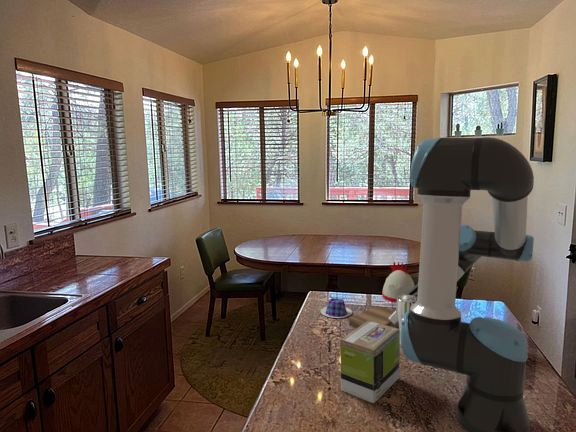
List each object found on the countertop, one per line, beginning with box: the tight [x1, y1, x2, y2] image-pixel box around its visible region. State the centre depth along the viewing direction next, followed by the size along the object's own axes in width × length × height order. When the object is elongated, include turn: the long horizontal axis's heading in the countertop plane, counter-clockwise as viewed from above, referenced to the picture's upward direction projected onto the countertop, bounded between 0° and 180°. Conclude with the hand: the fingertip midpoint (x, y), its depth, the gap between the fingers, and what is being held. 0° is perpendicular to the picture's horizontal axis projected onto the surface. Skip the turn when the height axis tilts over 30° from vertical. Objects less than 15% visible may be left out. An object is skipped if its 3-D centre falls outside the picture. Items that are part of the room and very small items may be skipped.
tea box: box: [340, 321, 401, 404], centre depth 111 cm, size 15×10×15 cm, turn 141°
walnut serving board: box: [348, 305, 398, 329], centre depth 150 cm, size 16×12×3 cm
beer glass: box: [395, 295, 417, 346], centre depth 135 cm, size 7×7×15 cm
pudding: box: [320, 297, 353, 319], centre depth 161 cm, size 12×12×5 cm
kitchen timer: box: [381, 261, 416, 304], centre depth 176 cm, size 14×14×15 cm
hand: (396, 326), depth 135 cm, fingers open, 8 cm apart
